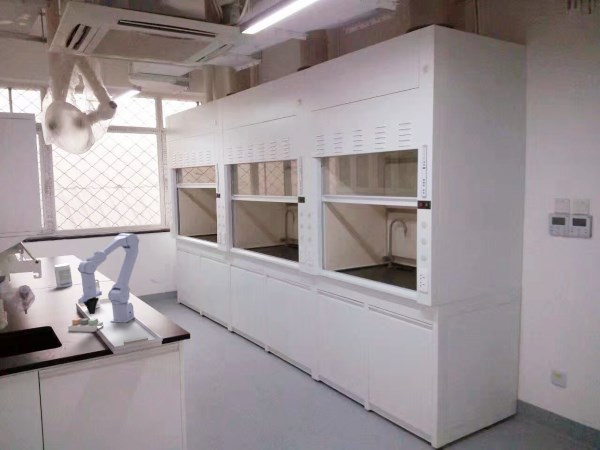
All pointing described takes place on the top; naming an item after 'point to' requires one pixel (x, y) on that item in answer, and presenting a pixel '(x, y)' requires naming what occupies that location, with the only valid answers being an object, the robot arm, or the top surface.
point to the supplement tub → (63, 275)
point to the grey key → (84, 321)
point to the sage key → (93, 321)
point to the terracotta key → (76, 321)
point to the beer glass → (96, 291)
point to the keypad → (84, 327)
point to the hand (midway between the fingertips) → (92, 313)
